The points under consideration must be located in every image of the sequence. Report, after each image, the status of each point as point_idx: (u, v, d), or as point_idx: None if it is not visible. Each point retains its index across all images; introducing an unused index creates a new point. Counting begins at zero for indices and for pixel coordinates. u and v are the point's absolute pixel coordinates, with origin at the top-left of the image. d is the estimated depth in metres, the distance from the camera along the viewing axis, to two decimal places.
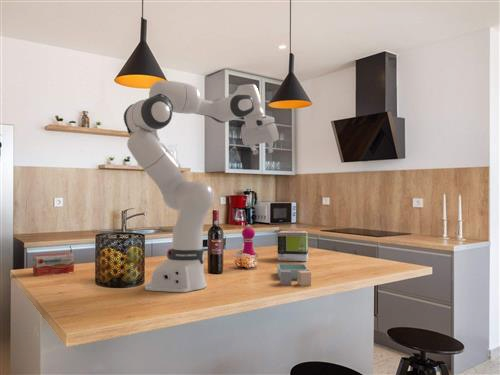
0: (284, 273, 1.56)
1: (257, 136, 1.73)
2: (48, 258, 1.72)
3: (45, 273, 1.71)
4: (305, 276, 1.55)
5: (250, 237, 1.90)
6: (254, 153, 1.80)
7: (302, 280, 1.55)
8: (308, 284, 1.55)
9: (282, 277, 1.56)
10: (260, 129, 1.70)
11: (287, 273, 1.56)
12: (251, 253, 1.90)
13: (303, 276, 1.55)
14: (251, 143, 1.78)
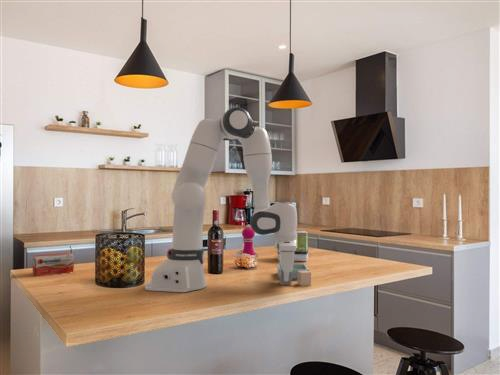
0: None
1: None
2: (48, 258, 1.72)
3: (45, 273, 1.71)
4: (305, 276, 1.55)
5: (250, 237, 1.90)
6: None
7: (302, 280, 1.55)
8: (308, 284, 1.55)
9: (282, 277, 1.56)
10: None
11: None
12: (251, 253, 1.90)
13: (303, 276, 1.55)
14: (280, 263, 1.62)
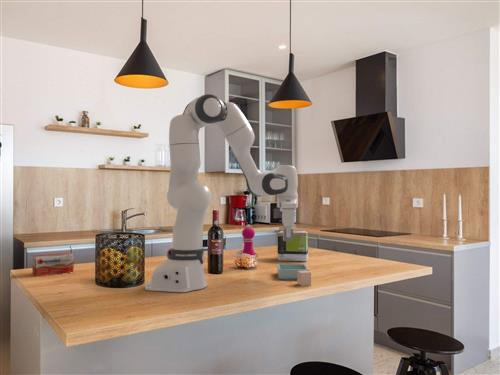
0: None
1: None
2: (48, 258, 1.71)
3: (45, 273, 1.71)
4: (305, 276, 1.55)
5: (250, 237, 1.90)
6: None
7: (302, 280, 1.55)
8: (308, 284, 1.55)
9: (285, 234, 1.69)
10: None
11: None
12: (251, 253, 1.90)
13: (303, 276, 1.55)
14: None
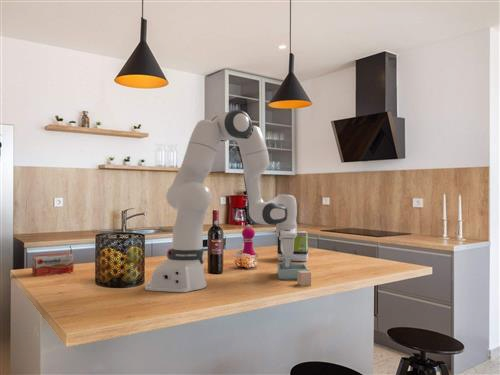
0: None
1: (282, 246, 1.73)
2: (47, 258, 1.71)
3: (44, 273, 1.71)
4: (305, 276, 1.55)
5: (250, 237, 1.90)
6: None
7: (302, 280, 1.55)
8: (308, 284, 1.55)
9: (283, 267, 1.72)
10: None
11: None
12: (251, 253, 1.90)
13: (303, 276, 1.55)
14: (281, 250, 1.78)
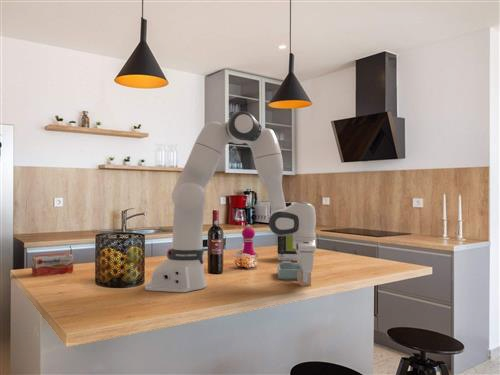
0: (285, 264, 1.72)
1: (299, 259, 1.56)
2: (47, 258, 1.71)
3: (44, 274, 1.70)
4: None
5: (250, 237, 1.90)
6: None
7: (302, 280, 1.55)
8: (308, 284, 1.55)
9: (283, 267, 1.72)
10: None
11: (288, 264, 1.72)
12: (251, 253, 1.90)
13: None
14: (298, 264, 1.61)
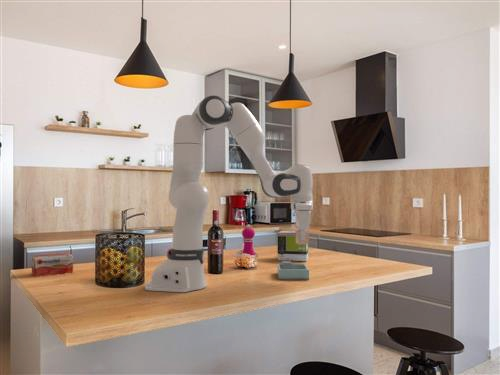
0: (285, 264, 1.72)
1: (297, 219, 1.64)
2: (47, 258, 1.71)
3: (44, 274, 1.70)
4: None
5: (250, 237, 1.90)
6: None
7: None
8: (306, 242, 1.63)
9: (283, 267, 1.72)
10: None
11: (288, 264, 1.72)
12: (251, 253, 1.90)
13: None
14: (296, 225, 1.69)
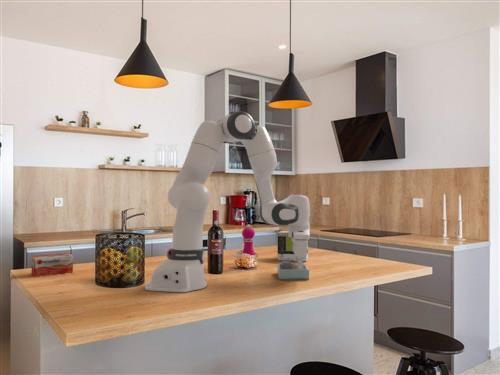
0: (285, 264, 1.72)
1: (295, 247, 1.69)
2: (47, 259, 1.70)
3: (44, 274, 1.70)
4: None
5: (250, 237, 1.90)
6: None
7: None
8: None
9: (283, 267, 1.72)
10: None
11: (288, 264, 1.72)
12: (251, 253, 1.90)
13: (298, 268, 1.68)
14: None
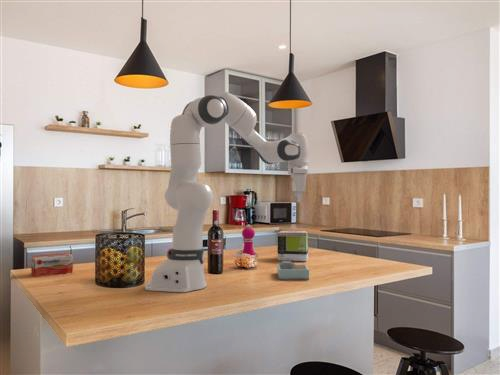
0: (285, 264, 1.72)
1: (294, 183, 1.79)
2: (47, 259, 1.70)
3: (44, 274, 1.70)
4: (300, 268, 1.68)
5: (250, 237, 1.90)
6: (295, 200, 1.85)
7: None
8: None
9: (283, 267, 1.72)
10: (294, 177, 1.76)
11: (288, 264, 1.72)
12: (251, 253, 1.90)
13: (298, 268, 1.68)
14: (293, 189, 1.84)
